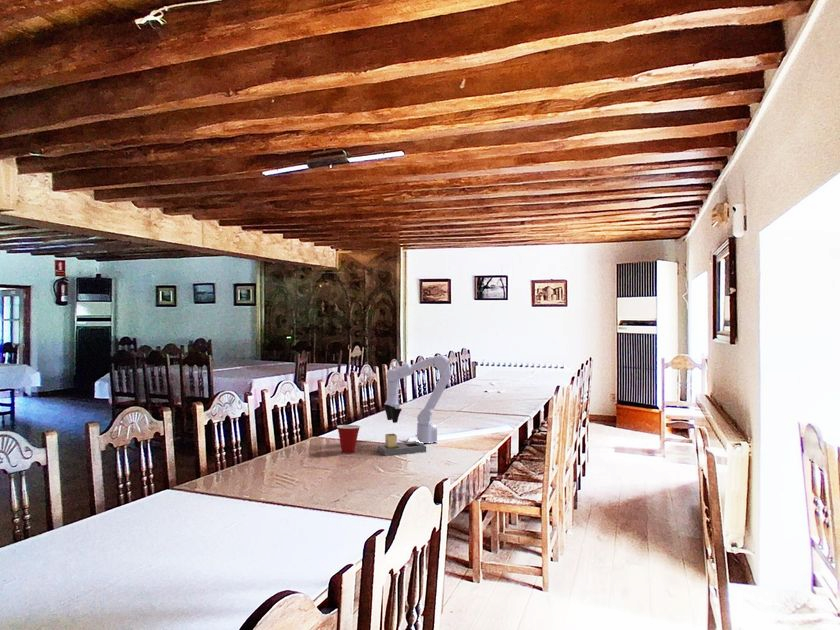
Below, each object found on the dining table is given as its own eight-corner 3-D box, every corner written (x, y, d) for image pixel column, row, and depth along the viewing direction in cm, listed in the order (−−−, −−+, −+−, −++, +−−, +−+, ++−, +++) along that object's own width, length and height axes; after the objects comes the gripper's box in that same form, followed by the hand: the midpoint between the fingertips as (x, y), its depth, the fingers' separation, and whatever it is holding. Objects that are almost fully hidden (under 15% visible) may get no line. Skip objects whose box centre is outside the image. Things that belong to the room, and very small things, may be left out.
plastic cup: (362, 449, 251) (362, 423, 251) (357, 455, 240) (357, 428, 240) (339, 448, 252) (339, 422, 252) (333, 454, 241) (333, 427, 241)
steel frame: (417, 447, 256) (417, 441, 256) (426, 451, 247) (426, 446, 247) (377, 450, 248) (377, 445, 248) (384, 455, 239) (384, 450, 239)
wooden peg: (393, 451, 248) (393, 433, 248) (396, 453, 244) (396, 435, 244) (385, 451, 246) (385, 434, 247) (388, 453, 243) (388, 436, 243)
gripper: (380, 392, 273) (379, 419, 273) (390, 396, 260) (389, 424, 260) (393, 391, 276) (393, 418, 276) (403, 395, 263) (403, 423, 263)
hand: (392, 421), depth 268 cm, fingers open, 7 cm apart
